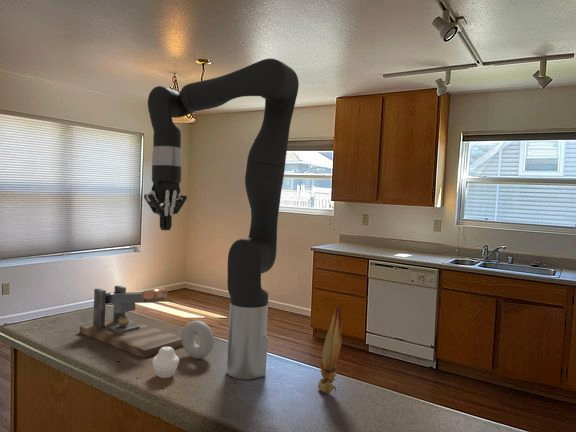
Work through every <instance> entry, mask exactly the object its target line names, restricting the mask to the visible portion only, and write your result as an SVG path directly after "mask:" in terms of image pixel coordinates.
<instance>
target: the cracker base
mask: <svg viewBox="0 0 576 432" xmlns="http://www.w3.org/2000/svg"><path fill="white" fill-rule="evenodd" d="M93 292H94V294H93V315H92V316H93V318H92V319H93V322H92V323H88V324H84V325H80V326H79V334H82V335H85V336H87V337H89V338H92V339H94V340H97V341H99V340H100V342H103V343H104V342H105V344H108V345H110V346H113V347H115V348H117V349H120V350H123V351H126V352H128V353H130V354H133V355H135V356H138V357H140V358H143V359H145V358H148V357H151V356H152V357H153V356H156V355H157V354H158V353H159V350H160V349H161V348H162V347H166V346H167V347H172V348H173V349H174V350H175V349H178V348H181V347H183V344H182V338H181V337H182V335H181V336H180V335H177V334H174V333H171V332H168V331H165V330H162V329H159V328H156V327H153V326H149V325H147V324H143V323H141V322H138V321H137V322H136V321H134V320H131V319H130V318H129V317H128V316H126V312H123V313H115V311H114V310H113V318H111V319H106V305H107V304H106V293H107V290H104V289H102V288H94V290H93ZM113 292H118V293H127V287H126V286H121V285H115V286H114V291H113Z"/></svg>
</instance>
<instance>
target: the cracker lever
mask: <svg viewBox="0 0 576 432" xmlns="http://www.w3.org/2000/svg"><path fill="white" fill-rule="evenodd" d="M167 297H168V290H167V288H166V287H161V288H160V287H159V288H154V289H149V290H144V291H139V292H138V291H136V292H135V291H134V292H126V293H118V292H114V291H112V292H106V304H105V305H110V304H113V312H114V311H115V313H123V312H125V313H128V312H132V311H136V304H144V303H145V304H151V303H156V302H160V301H161V302H162V301H165V299H167Z"/></svg>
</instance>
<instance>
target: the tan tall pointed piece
mask: <svg viewBox="0 0 576 432" xmlns="http://www.w3.org/2000/svg"><path fill="white" fill-rule="evenodd" d="M342 316H343V314H342V310H341V308H340V307H339V306H336V308H335V310H334V313H333V316H332V318H331V321H330V324H329V328H328V330H327V333H326V336H325V340H324V344H323V350H322V353H321V361H322V362H320V364H319V368H320V374H321V377H322V378H320V381H318V384H317V388H318V390H319V391H321V392H322V393H324V394H326V395H327V394H328V395H329V394H331V393H332V392H333V390H334V392H336V390H337V389H336V386H334V385H333V382H334V381H336V379H335V378H336V376H337V374H336V372H337V369H338V368H337V365H338V364H337V361H338V359H339V355H340V352H341V348H342V342H343V336H342Z"/></svg>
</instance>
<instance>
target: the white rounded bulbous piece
mask: <svg viewBox="0 0 576 432" xmlns="http://www.w3.org/2000/svg"><path fill="white" fill-rule="evenodd" d="M179 363H180V358H179V356H178V355H176V353H175V348H174V349H173V348H172V347H167V346H166V347H162V348H161V349H160V350H159V353H158V354H156V355H154V357H153V359H152V366H153V368H154V371H155V372H156V374H157V377H159V378H161V379H168V378H169V379H170V378H171V377H173V375H174V373H175V371H176V370H177V368H178V365H179Z"/></svg>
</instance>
